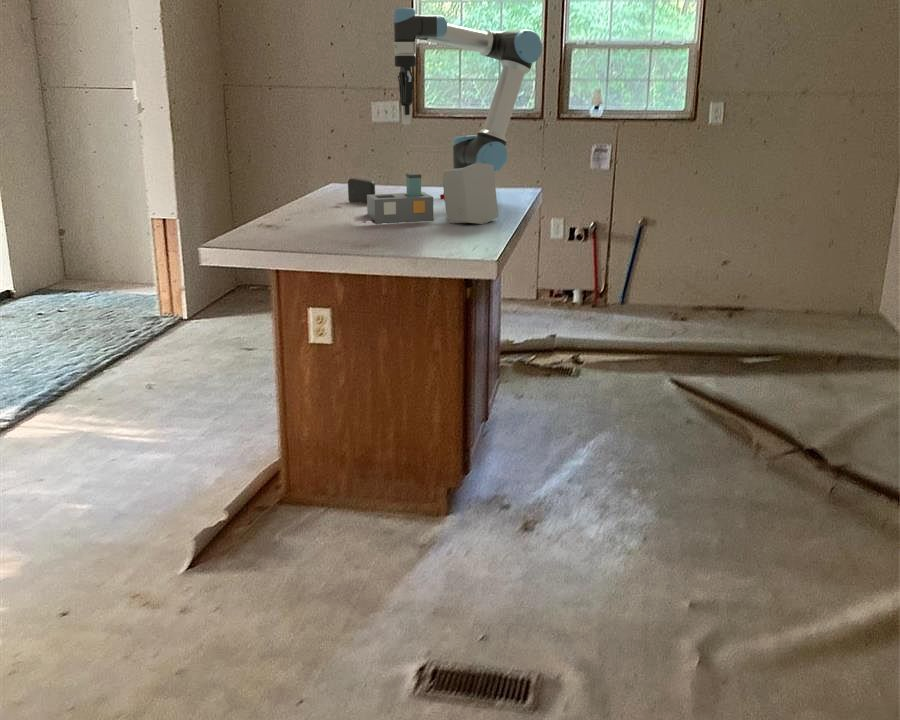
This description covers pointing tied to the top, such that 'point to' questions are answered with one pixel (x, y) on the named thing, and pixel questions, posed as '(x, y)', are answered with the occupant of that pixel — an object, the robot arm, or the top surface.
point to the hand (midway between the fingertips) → (406, 124)
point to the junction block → (399, 208)
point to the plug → (413, 184)
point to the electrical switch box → (470, 194)
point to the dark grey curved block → (360, 189)
